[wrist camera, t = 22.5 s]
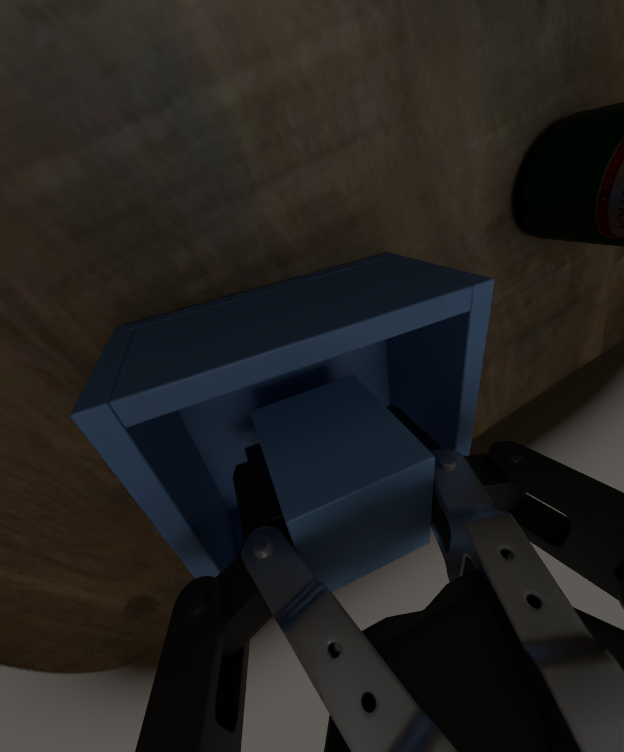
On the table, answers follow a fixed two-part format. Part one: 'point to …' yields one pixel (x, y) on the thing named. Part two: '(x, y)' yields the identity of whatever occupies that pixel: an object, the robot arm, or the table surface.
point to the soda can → (578, 180)
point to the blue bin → (276, 381)
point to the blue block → (346, 479)
